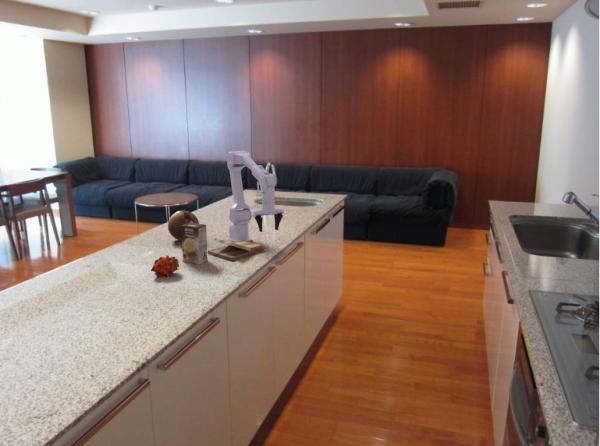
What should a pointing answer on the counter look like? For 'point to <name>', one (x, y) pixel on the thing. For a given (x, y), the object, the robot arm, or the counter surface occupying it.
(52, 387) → the counter surface
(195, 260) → the coffee box
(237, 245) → the oak plank
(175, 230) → the wooden sphere
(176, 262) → the dragon fruit
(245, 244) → the board
